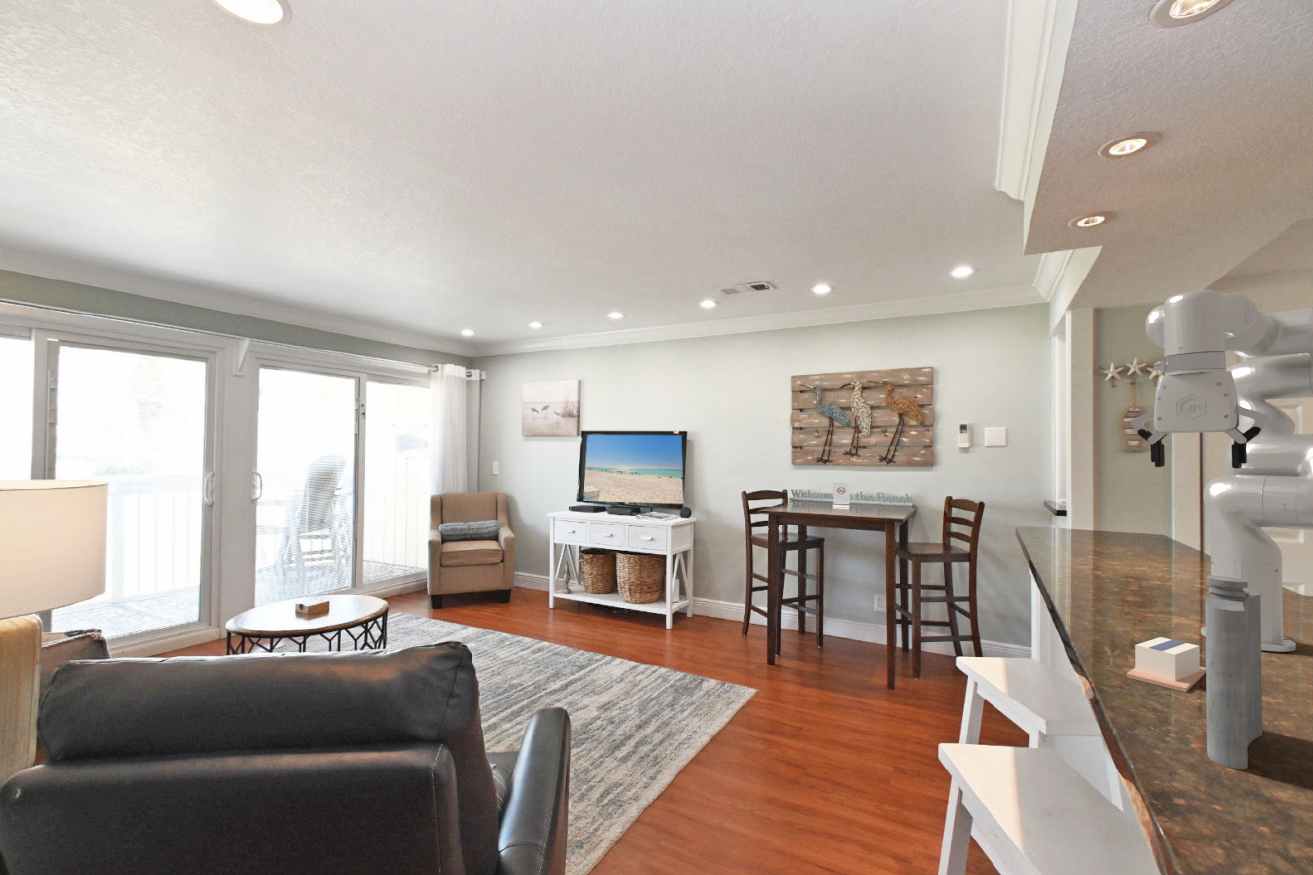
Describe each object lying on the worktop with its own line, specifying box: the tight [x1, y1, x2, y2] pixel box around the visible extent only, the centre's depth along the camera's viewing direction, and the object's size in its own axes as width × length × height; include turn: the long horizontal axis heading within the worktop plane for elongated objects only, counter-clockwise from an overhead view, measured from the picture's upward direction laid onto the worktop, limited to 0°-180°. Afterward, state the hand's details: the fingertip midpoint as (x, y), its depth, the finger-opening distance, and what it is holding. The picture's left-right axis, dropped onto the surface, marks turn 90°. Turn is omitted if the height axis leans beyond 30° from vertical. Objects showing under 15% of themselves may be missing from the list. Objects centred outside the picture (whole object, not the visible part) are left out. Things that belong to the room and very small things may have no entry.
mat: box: [1126, 666, 1206, 693], centre depth 92 cm, size 14×7×1 cm, turn 127°
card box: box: [1134, 636, 1201, 681], centre depth 92 cm, size 5×9×4 cm, turn 119°
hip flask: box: [1204, 575, 1263, 771], centre depth 70 cm, size 16×4×20 cm, turn 129°
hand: (1196, 467), depth 97 cm, fingers open, 9 cm apart
